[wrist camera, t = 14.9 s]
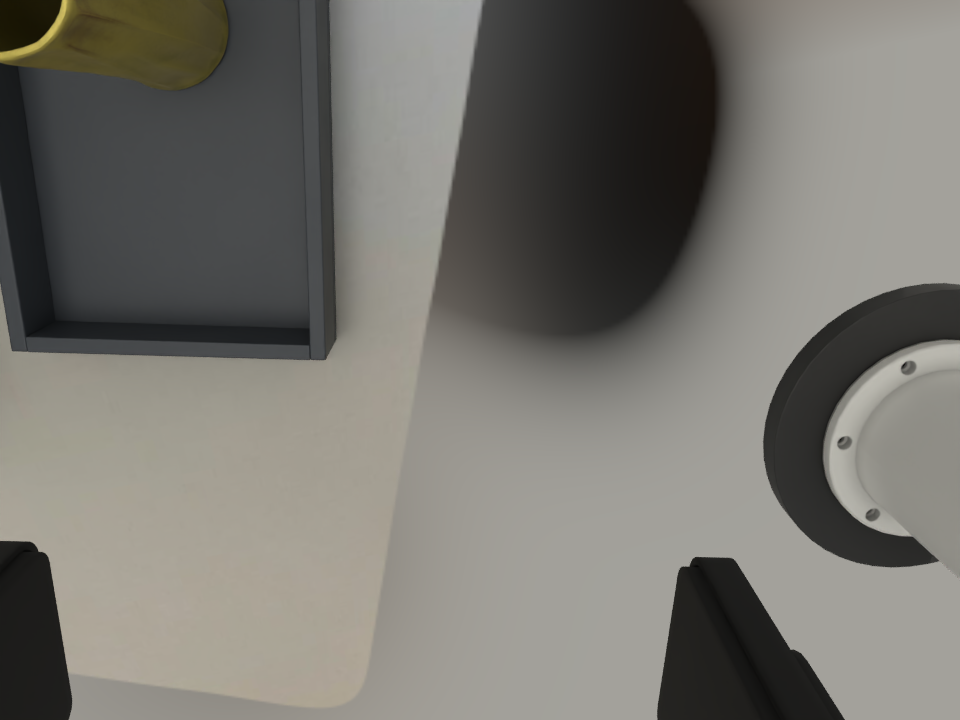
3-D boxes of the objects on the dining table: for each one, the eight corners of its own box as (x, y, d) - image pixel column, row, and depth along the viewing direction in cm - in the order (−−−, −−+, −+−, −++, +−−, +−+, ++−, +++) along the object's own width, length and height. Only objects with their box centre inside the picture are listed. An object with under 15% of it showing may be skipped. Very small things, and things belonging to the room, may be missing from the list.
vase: (214, 107, 36) (72, 105, 23) (88, 65, 35) (-139, 36, 22) (242, -23, 34) (104, -111, 21) (109, -71, 33) (-124, -195, 20)
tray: (326, -107, 34) (312, -132, 30) (336, 339, 41) (325, 360, 37) (-22, -128, 33) (-76, -155, 30) (48, 331, 40) (11, 351, 37)
